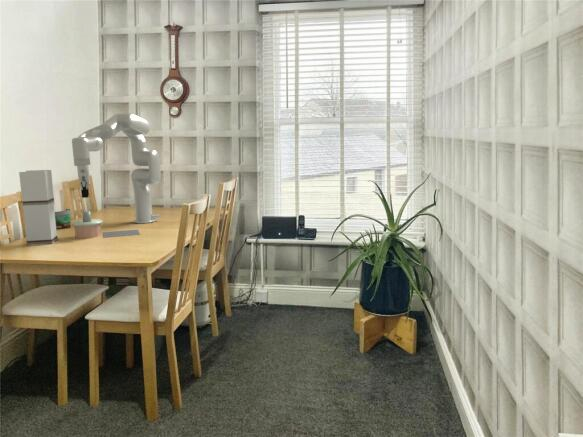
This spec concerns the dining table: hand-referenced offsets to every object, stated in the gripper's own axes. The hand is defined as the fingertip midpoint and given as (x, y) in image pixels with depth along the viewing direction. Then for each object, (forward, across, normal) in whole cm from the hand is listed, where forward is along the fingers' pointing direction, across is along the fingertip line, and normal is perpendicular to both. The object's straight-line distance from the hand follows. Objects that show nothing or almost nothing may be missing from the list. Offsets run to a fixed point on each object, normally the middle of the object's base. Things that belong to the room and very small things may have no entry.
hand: (85, 196), depth 267 cm
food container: (+22, +35, +13) cm, 43 cm away
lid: (+14, 0, 0) cm, 14 cm away
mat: (+21, -2, -15) cm, 26 cm away
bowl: (+21, -1, +1) cm, 21 cm away
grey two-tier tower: (+21, -5, +22) cm, 30 cm away
